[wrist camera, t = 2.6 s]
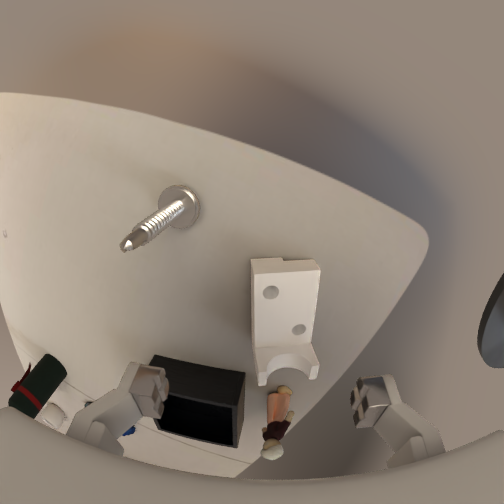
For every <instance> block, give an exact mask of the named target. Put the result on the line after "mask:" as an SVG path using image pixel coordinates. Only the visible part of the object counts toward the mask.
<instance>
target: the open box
mask: <svg viewBox="0 0 504 504" xmlns="http://www.w3.org/2000/svg"><path fill="white" fill-rule="evenodd" d="M149 366H154V367H160V368H164V369H165V372H166V374H165V378H167V379H168V382H169V393H168V397H167V399H166V400H165V401H164V402H163V405H164V410H163V413H162V416H161V419H157V418H153V419H154V422H155V424H156V426H157V428H158V430H161V431H164V432H168V433H171V434H175V435H178V436H182V437H186V438H190V439H194V440H198V441H202V442H207V443H212V444H216V445H221V446H227V447H232V448H237V447H238V443H239V439H240V434H241V430H242V426H243V421H244V400H245V375H246V373H245V372H238V371H232V370H226V369H220V368H214V367H209V366H204V365H199V364H194V363H189V362H184V361H180V360H175V359H171V358H167V357H163V356H159V355H154V357H153V359H152V360H151V362H150V364H149Z"/></svg>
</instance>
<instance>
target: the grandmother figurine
mask: <svg viewBox="0 0 504 504" xmlns="http://www.w3.org/2000/svg"><path fill="white" fill-rule="evenodd" d="M277 391H278V393H271V394H270V395H268V397H267V422H268V425H267V428H266V427H264V428H263V429H262V432H263V438H264V440H265V442H264V445H263V449H262V450H261V455H262V457H265V458H266V459H270V460H274V459H277V458H278V457H280V456H282V454H283V447H282V446H281V444H280V442H279V440H280V439H281V438H283V436H284V434H285V432H286V430H287V429H288V427H289V425H290V424H291V421H292V417H293V416H294V412H293V411H289V412H288V413H287V411H288V408H289V401H290V395H291V394H292V391H291V390H290V389H289V388H288V387H286V386H280V387H278V388H277ZM286 413H287V416H286ZM285 416H286V417H285ZM284 417H285V419H284Z"/></svg>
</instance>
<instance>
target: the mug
mask: <svg viewBox="0 0 504 504" xmlns="http://www.w3.org/2000/svg"><path fill="white" fill-rule="evenodd" d="M41 418H42V419H43V420H44V421H45V422H46V423H47V424H48V425H49V426H51V427H52V428H54V429H58V428H59V427H60V426H61V425H62V423H63V420H64V413H63V411H62V410H61V409H60V408H59V407H58V406H56V405H54V404H49V405H48V406H46V407H45V408H44V410H43V411H42V413H41Z"/></svg>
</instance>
